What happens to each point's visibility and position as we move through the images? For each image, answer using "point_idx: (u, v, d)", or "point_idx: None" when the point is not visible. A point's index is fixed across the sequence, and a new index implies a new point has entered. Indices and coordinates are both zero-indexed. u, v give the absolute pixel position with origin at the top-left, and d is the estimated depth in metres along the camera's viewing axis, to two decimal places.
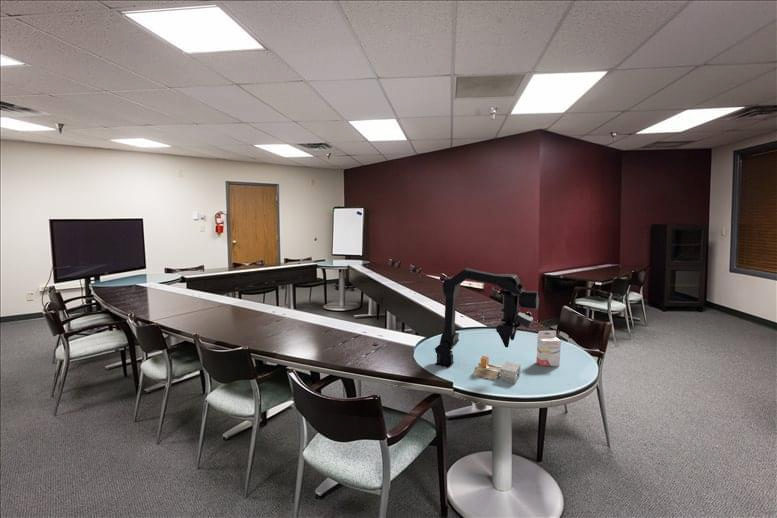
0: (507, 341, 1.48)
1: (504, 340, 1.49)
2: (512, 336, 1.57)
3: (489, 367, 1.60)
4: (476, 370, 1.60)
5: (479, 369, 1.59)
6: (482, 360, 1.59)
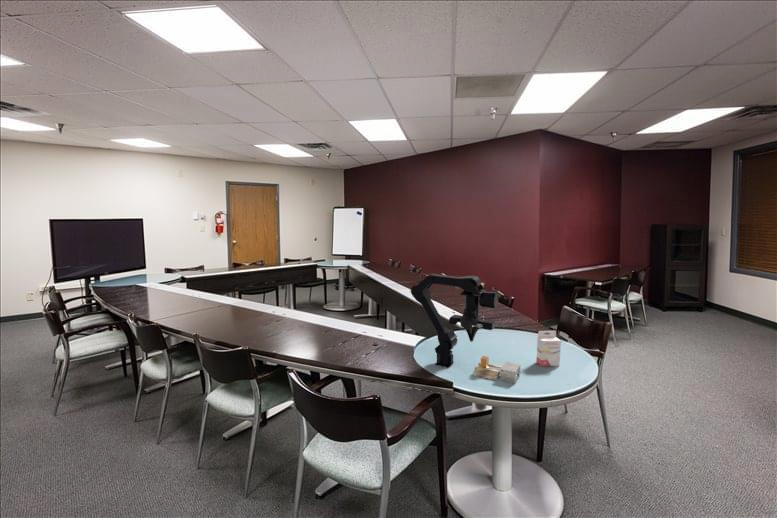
0: None
1: None
2: None
3: (489, 367, 1.60)
4: (476, 370, 1.60)
5: (479, 369, 1.59)
6: (482, 360, 1.59)
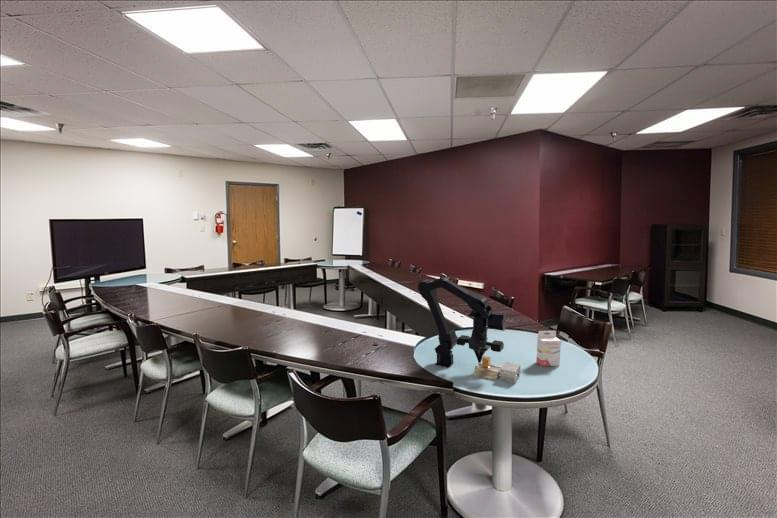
0: None
1: None
2: None
3: (491, 367, 1.59)
4: (476, 370, 1.60)
5: (479, 369, 1.59)
6: (484, 360, 1.59)
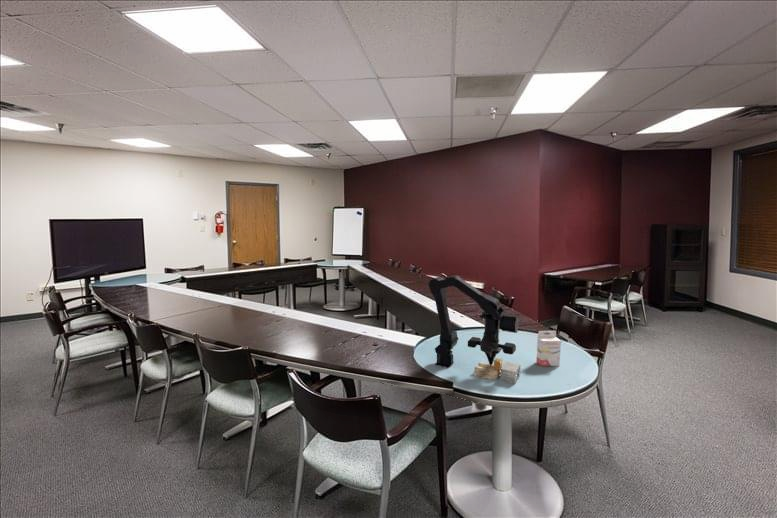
0: None
1: None
2: None
3: None
4: (476, 370, 1.60)
5: (479, 369, 1.59)
6: (495, 363, 1.56)
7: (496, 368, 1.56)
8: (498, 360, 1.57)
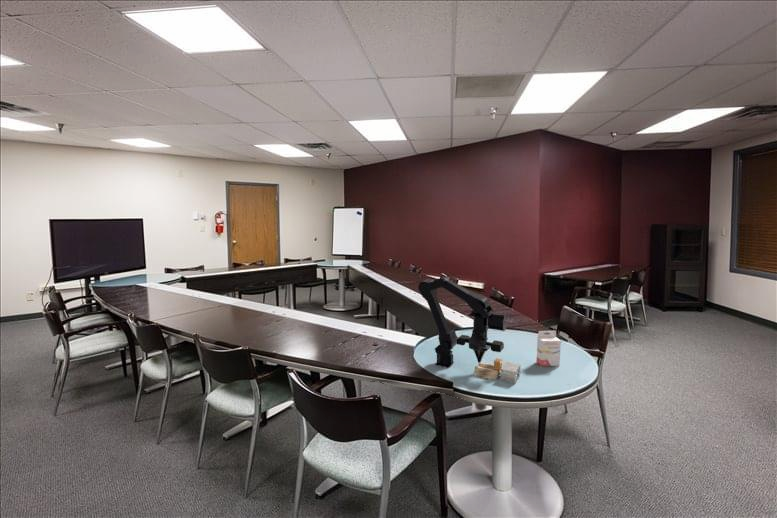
0: None
1: None
2: None
3: None
4: (476, 370, 1.60)
5: (479, 369, 1.59)
6: (495, 363, 1.56)
7: (496, 368, 1.56)
8: (498, 360, 1.57)
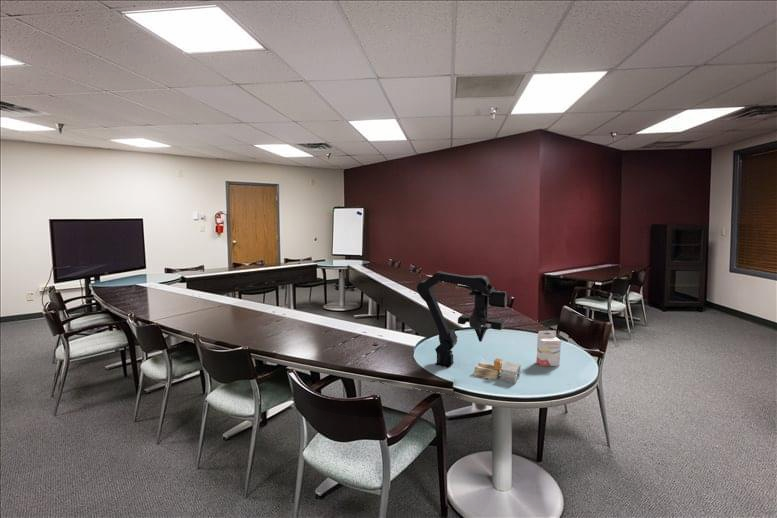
0: None
1: None
2: None
3: None
4: (476, 370, 1.60)
5: (479, 369, 1.59)
6: (495, 363, 1.56)
7: (496, 368, 1.56)
8: (498, 360, 1.57)
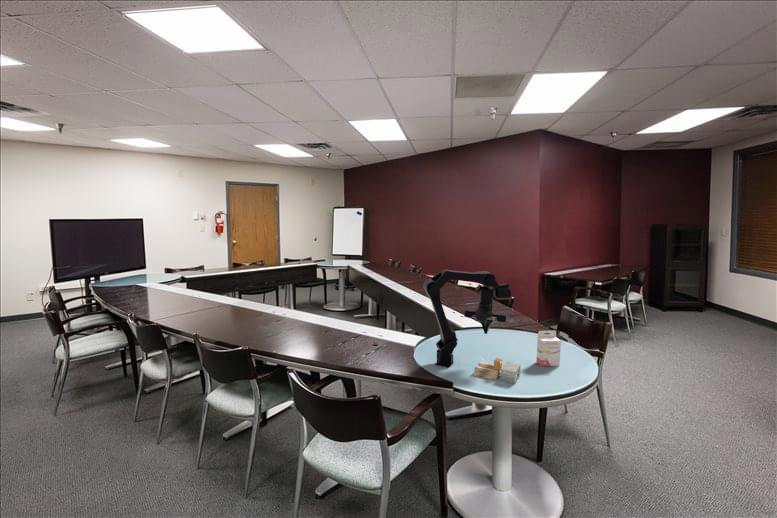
0: None
1: None
2: None
3: None
4: (476, 370, 1.60)
5: (479, 369, 1.59)
6: (495, 363, 1.56)
7: (496, 368, 1.56)
8: (498, 360, 1.57)
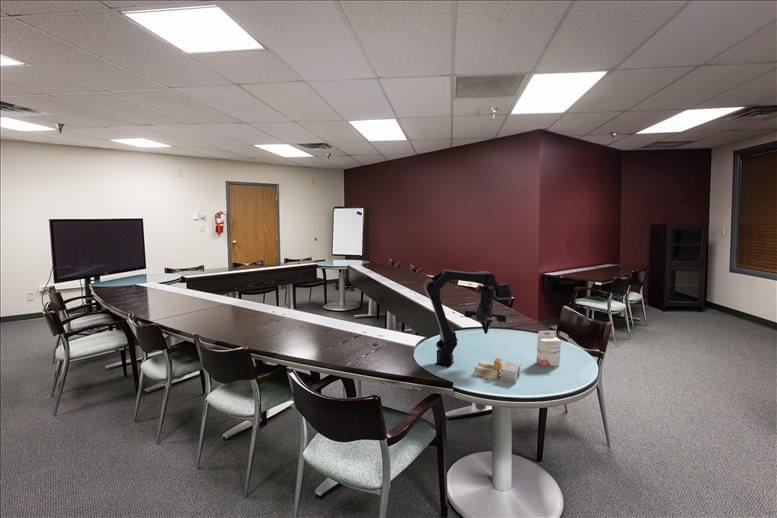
0: None
1: None
2: None
3: None
4: (476, 370, 1.60)
5: (479, 369, 1.59)
6: (495, 363, 1.56)
7: (496, 368, 1.56)
8: (498, 360, 1.57)
